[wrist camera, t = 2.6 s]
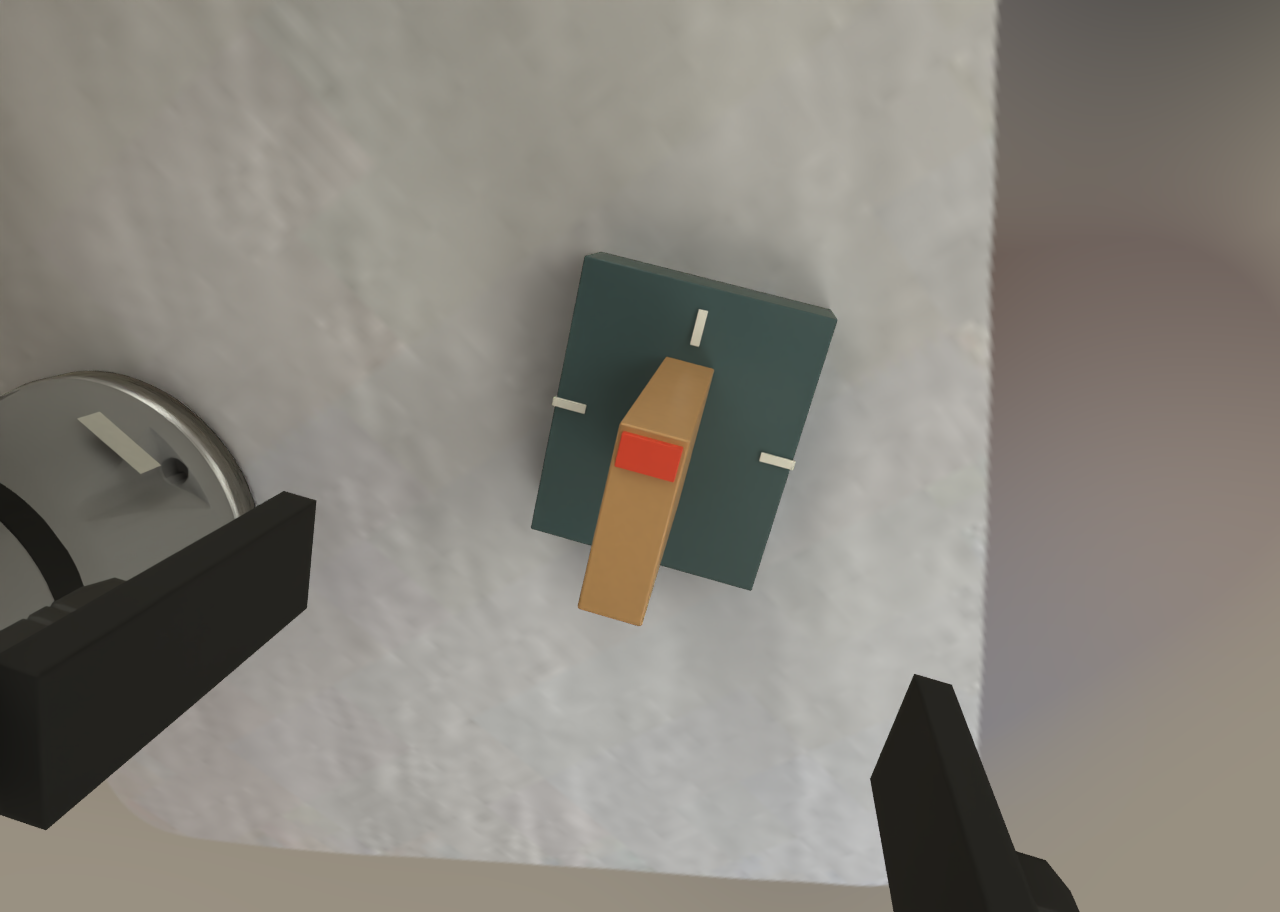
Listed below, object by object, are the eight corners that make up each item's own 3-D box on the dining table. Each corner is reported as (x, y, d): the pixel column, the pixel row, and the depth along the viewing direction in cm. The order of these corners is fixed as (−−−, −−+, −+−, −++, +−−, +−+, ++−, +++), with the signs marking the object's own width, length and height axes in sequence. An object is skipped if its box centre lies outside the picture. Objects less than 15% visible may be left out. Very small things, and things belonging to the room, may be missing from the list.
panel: (754, 561, 35) (753, 593, 32) (547, 503, 36) (527, 529, 33) (834, 310, 31) (841, 320, 28) (598, 250, 32) (581, 255, 29)
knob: (678, 504, 32) (640, 632, 22) (632, 492, 32) (574, 613, 22) (714, 368, 30) (689, 444, 20) (665, 356, 30) (618, 424, 20)
